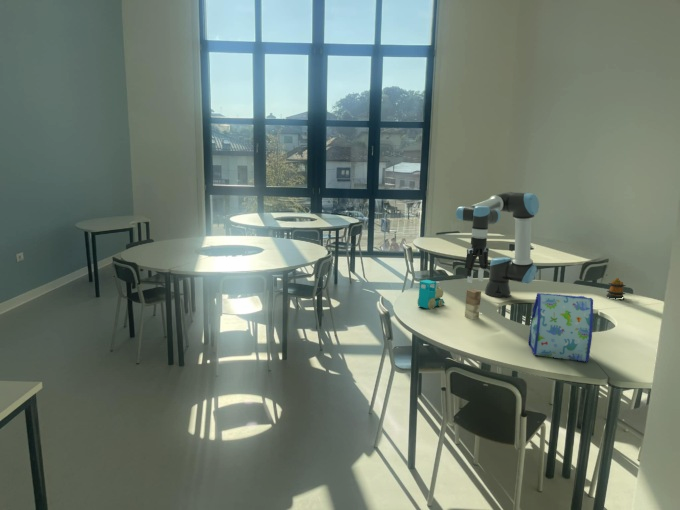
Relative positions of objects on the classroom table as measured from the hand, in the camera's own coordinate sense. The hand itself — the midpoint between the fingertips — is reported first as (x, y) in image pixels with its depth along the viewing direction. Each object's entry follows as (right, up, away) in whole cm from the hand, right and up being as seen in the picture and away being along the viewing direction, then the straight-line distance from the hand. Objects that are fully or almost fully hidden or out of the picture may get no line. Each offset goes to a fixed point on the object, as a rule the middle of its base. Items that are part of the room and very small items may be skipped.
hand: (474, 281), depth 239 cm
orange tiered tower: (+104, -13, +57) cm, 119 cm away
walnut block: (0, -12, +2) cm, 12 cm away
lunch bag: (+24, -29, -37) cm, 53 cm away
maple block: (-1, -18, +4) cm, 19 cm away
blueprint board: (0, -19, +7) cm, 20 cm away
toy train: (-17, -15, +25) cm, 34 cm away
